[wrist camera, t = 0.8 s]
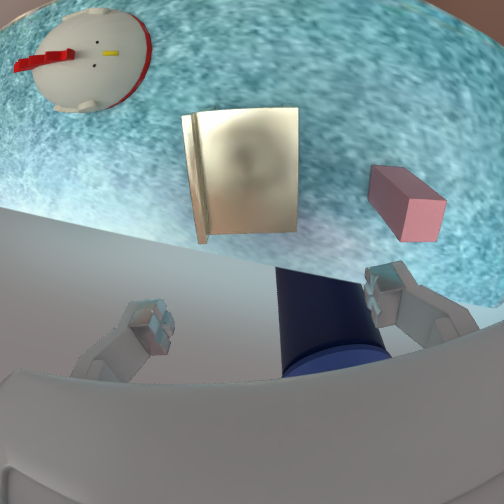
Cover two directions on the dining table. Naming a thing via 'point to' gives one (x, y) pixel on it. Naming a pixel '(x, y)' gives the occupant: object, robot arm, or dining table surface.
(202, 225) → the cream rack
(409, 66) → the dining table surface
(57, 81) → the kitchen timer
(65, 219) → the dining table surface
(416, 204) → the pink carton
